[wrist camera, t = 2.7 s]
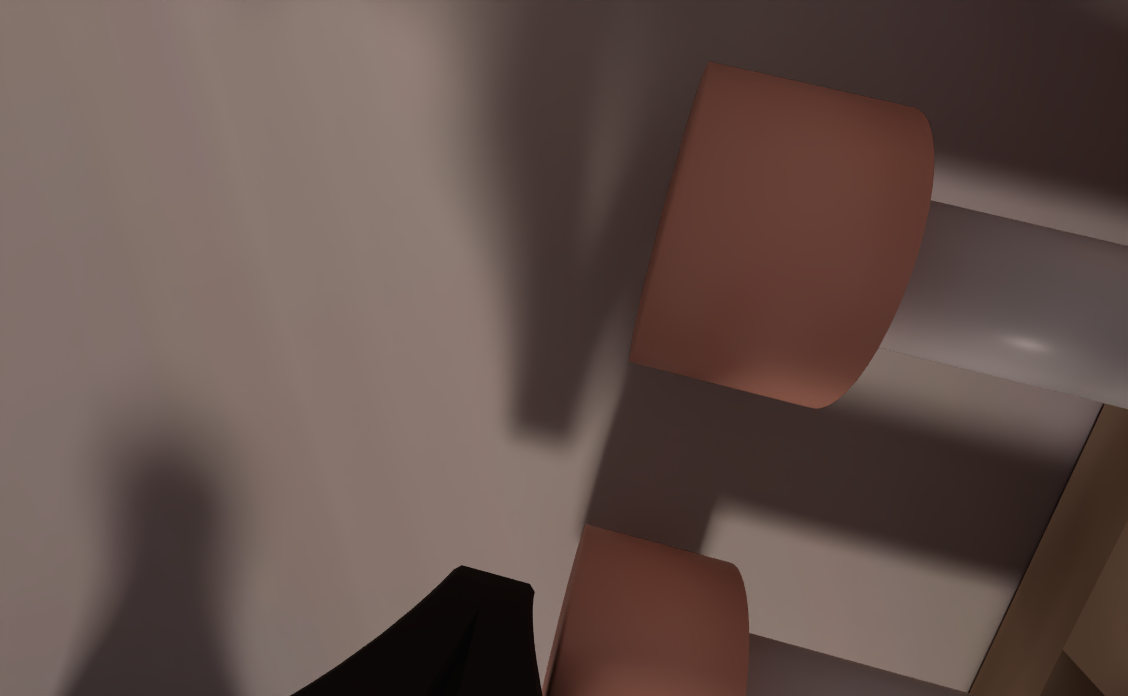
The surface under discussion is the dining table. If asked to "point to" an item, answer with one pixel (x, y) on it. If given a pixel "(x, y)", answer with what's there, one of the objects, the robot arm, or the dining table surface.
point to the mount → (1073, 586)
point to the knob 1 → (858, 258)
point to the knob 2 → (685, 633)
